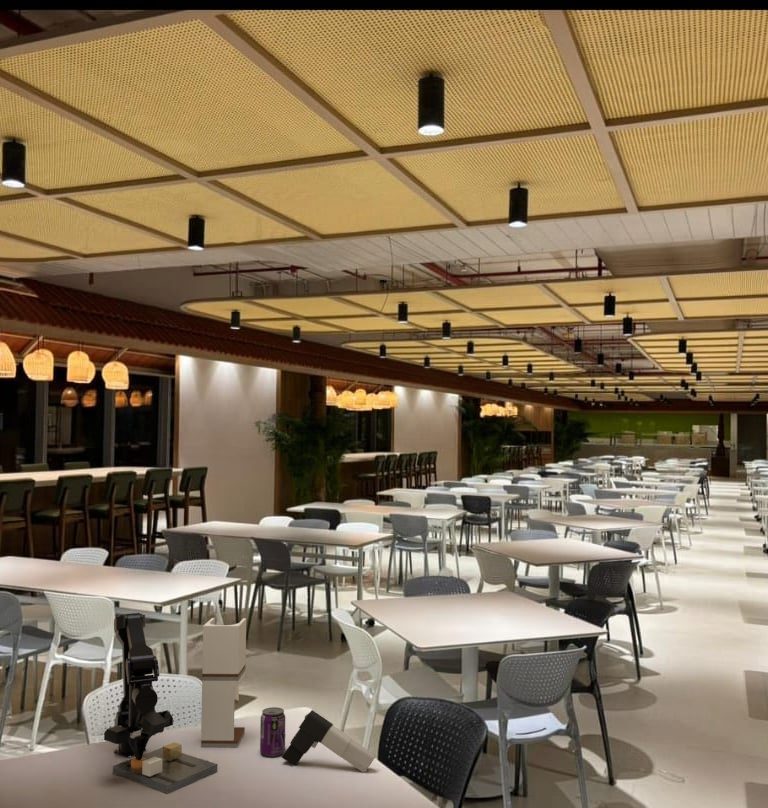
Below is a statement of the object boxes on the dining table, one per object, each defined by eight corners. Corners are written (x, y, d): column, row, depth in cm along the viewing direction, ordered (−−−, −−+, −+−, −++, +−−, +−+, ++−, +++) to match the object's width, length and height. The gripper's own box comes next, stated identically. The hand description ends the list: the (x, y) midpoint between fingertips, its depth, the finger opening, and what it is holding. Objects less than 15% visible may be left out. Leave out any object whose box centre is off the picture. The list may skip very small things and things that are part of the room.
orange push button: (127, 771, 212) (127, 760, 212) (139, 767, 216) (140, 755, 216) (137, 775, 210) (137, 763, 210) (149, 770, 213) (149, 758, 213)
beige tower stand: (237, 747, 231) (239, 626, 233) (200, 747, 231) (203, 625, 233) (244, 734, 242) (246, 618, 245) (210, 733, 243) (212, 618, 245)
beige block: (142, 773, 206) (142, 761, 206) (154, 768, 209) (154, 756, 209) (149, 776, 204) (150, 763, 204) (162, 771, 207) (162, 759, 208)
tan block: (162, 758, 216) (162, 746, 217) (174, 754, 220) (174, 742, 220) (170, 761, 215) (170, 748, 215) (181, 756, 218) (181, 744, 218)
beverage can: (280, 758, 223) (280, 715, 223) (256, 756, 224) (257, 713, 225) (288, 749, 230) (288, 707, 230) (265, 747, 231) (265, 705, 232)
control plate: (112, 773, 212) (112, 765, 212) (163, 754, 226) (163, 746, 226) (167, 793, 199) (167, 785, 200) (217, 771, 213) (217, 763, 213)
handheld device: (285, 752, 222) (311, 707, 221) (351, 799, 217) (377, 753, 216) (280, 757, 218) (306, 711, 217) (347, 805, 213) (374, 758, 212)
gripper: (130, 715, 202) (129, 778, 201) (187, 697, 217) (185, 755, 216) (103, 707, 208) (101, 768, 207) (160, 690, 223) (159, 746, 222)
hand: (138, 759), depth 213 cm, fingers closed, pressing on orange push button
